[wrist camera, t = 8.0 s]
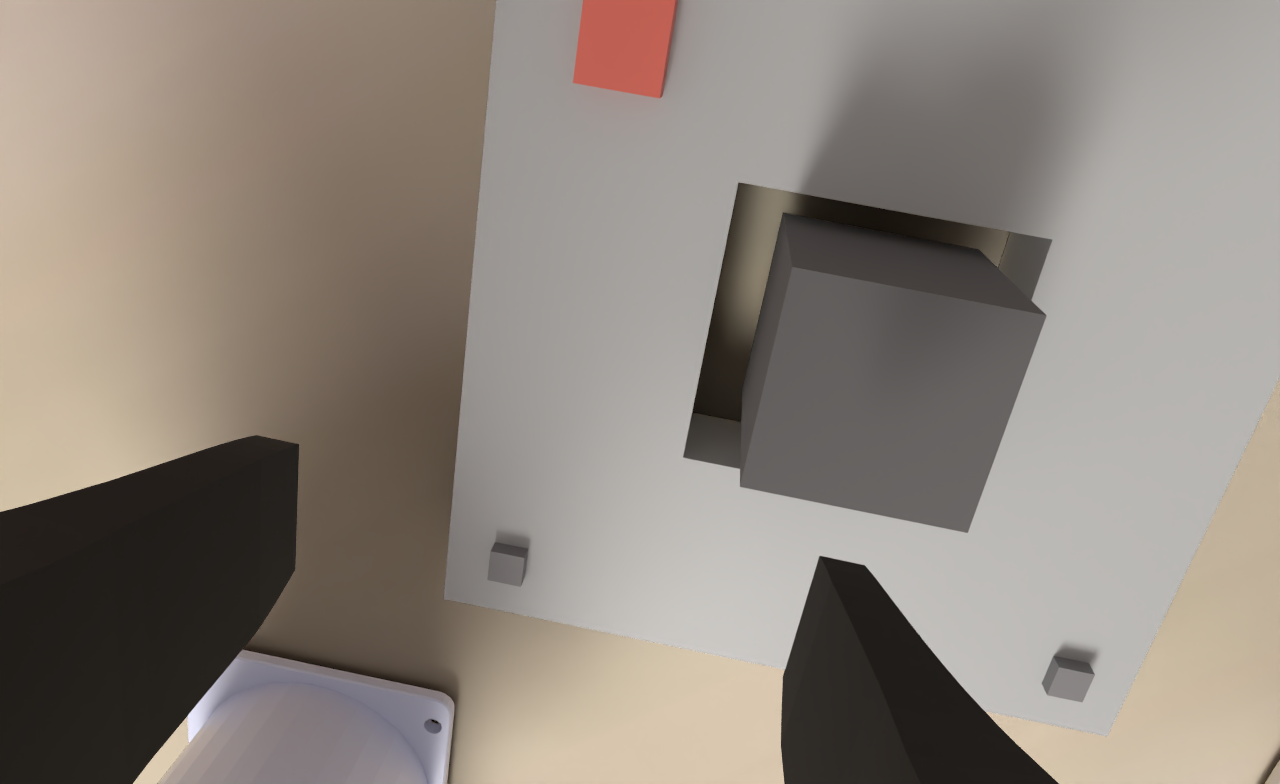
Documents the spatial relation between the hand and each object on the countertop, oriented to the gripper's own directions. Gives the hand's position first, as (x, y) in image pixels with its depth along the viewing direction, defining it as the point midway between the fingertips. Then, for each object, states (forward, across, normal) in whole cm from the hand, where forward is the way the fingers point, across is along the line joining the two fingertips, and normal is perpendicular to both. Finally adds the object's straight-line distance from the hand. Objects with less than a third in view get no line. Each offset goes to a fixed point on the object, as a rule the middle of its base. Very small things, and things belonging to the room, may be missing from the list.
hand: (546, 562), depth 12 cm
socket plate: (+10, -5, -1) cm, 11 cm away
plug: (+10, -5, -2) cm, 11 cm away
